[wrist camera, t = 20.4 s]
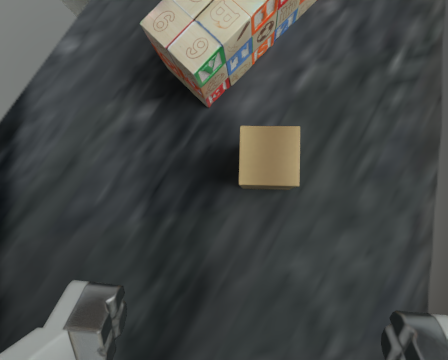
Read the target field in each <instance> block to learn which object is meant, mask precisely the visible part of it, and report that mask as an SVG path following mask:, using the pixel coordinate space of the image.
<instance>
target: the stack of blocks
mask: <svg viewBox="0 0 448 360" xmlns="http://www.w3.org/2000/svg"><path fill="white" fill-rule="evenodd" d="M315 1H316V0H162V1H161V2H160V3H159V4H158V5H157V6H156V7H155V8H154V9H153V10H152V11H151V12H150V13H149V14H148V15H147V16H146V17H145V18H144V19H143V20H142V21H141V22H140V25H141V27H142V28H143V30H144V32H145V33H146V35H147V37H148V38H149V40H150V41H151V44H152V46H153V47H154V49H155V50H156V52H157V53H158V55H159V56H160V58H161V59H162V61H163V62H164V63H165V65H166V66H167V68H168V69H169V70H170V71H171V72H172V73H173V74H174V75H175V76H176V77H177V78H178V79H179V80H180V81H181V82H182V83H183V84H184V85H185V86H186V87H187V88H188V89H189V90H190V91H191V92H192V93H193V94H194V95H195V96H196V97H197V98H198V99H199V100H200V101H202V102H203V103H204V104H205V105H206V106H207V107H208V108H209V107H210V106H211V104H212V103H213V102H214V101H215V100H216V99H217V98H218V97H219V96H221V94H222V93H223V92H224V91H225V89H228V88H229V87H230V86H232V85H233V84H234V83H235V82H236V81H237V80H238V79H239V78H240V77H241V76H242V75H243V74H244V73H245V72H246V71H247V70H248V69H249V68H250V67H251V66H252V65H253V64H254V63H255V61H256V60H257V59H258V58H259V57H260V56H261V55H263V54H264V53H265V51H266V50H267V49H268V48H269V47H270V46H272V45H273V44H274V42H275V41H276V39H277V38H278V37H279V36H280V35H282V34H283V33H284V32H285V31H286V30H287V29H288V27H289V26H290V25H291V24H293V23H294V22H295V21H296V20H297V19H298V18H299V17H300V16H301V15H302V14H303V13H304V12H305V11H306V10H307V9H308V8H309V7H310V6H311V5H312V4H313V3H314V2H315Z"/></svg>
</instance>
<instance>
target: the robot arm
mask: <svg viewBox="0 0 448 360" xmlns="http://www.w3.org/2000/svg"><path fill="white" fill-rule="evenodd" d="M124 294H125V292H124V287H123V286H121V285H113V284H104V283H96V282H87V281H78V280H73V281H72V282H70V283H69V284H68V286H67V287H66V289H65V291H64V292H63V294H62V296H61V298H60V299H59V301H58V303H57V304H56V306H55V308H54V309H53V311H52V313H51V315H50V316H49V318H48V320H47V321H46V323H45V325H44V326H43V328H36V329H35V330H33V331H32V332H30V333H29V334H28V335H26V336H25V337H23V338H22V339H20V340H19V341H18V342H16V343H15V344H13V345H12V346H10V347H9V348H8V349H6V350H5V351H3V352H2V353H0V360H113V357H114V354H115V351H116V344H115V340H116V339H117V338H118V337H119V336H120V335H121V334H122V332H123V329H124V326H125V321H126V316H127V306H126V302H125V301H123V300H122V299H123V296H124ZM390 321H391V323H392V324H390V325H388V326H387V327H385V328H384V330H383V333H382V337H381V346H382V352H383V355H384V358H385V360H448V315H437V314H429V313H419V312H407V311H395V312H393V313H392V314H391V316H390Z"/></svg>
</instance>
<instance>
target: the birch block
mask: <svg viewBox="0 0 448 360" xmlns="http://www.w3.org/2000/svg"><path fill="white" fill-rule="evenodd" d="M299 174H300V126H240V151H239V185H240V186H241V187H242V189H276V190H288V189H291V188H295V187H298V186H299Z"/></svg>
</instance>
